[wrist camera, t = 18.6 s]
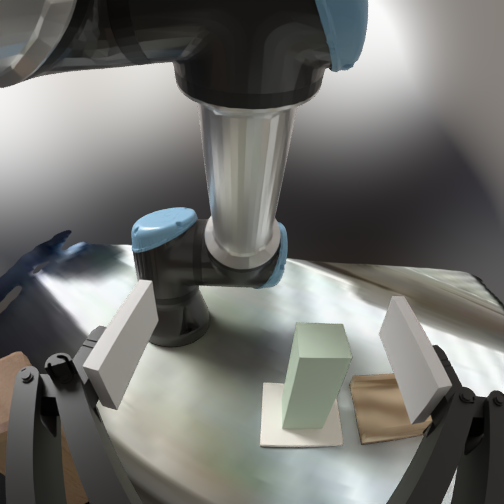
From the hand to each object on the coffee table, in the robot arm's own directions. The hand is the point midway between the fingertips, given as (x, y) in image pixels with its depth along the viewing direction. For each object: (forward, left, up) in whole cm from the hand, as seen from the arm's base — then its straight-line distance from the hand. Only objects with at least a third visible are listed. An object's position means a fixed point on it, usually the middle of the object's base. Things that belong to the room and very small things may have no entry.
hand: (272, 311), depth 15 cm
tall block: (-13, +7, -29) cm, 33 cm away
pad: (-13, +7, -30) cm, 33 cm away
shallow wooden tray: (-13, +22, -30) cm, 39 cm away
